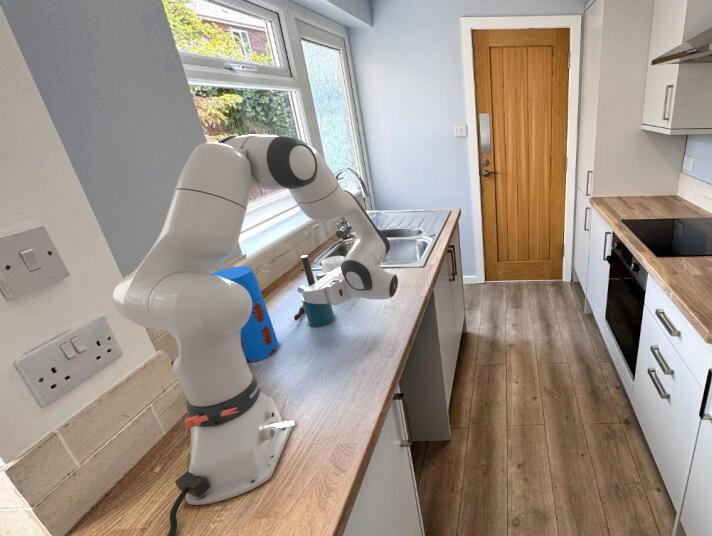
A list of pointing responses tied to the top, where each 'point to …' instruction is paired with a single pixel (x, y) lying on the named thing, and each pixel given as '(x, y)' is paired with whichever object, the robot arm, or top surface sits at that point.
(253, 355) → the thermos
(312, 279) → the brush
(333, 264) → the cup
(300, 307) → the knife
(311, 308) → the teal hollow cylinder
